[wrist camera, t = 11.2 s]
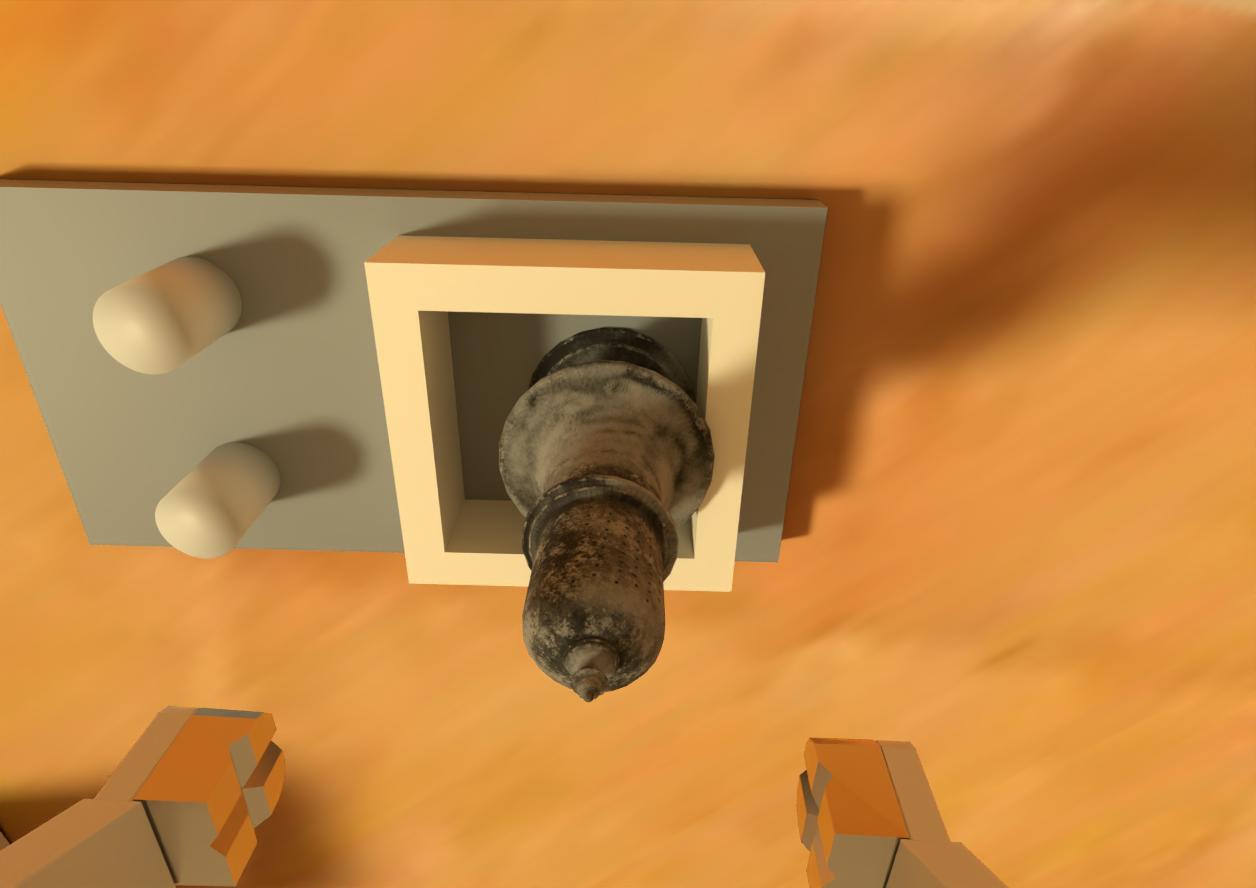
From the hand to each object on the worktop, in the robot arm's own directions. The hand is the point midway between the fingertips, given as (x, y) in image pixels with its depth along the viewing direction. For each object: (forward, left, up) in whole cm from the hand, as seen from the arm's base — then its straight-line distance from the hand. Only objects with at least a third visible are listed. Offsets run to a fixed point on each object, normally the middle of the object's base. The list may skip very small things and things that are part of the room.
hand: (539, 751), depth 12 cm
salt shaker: (-1, +1, -14) cm, 14 cm away
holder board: (+5, 0, -15) cm, 16 cm away
